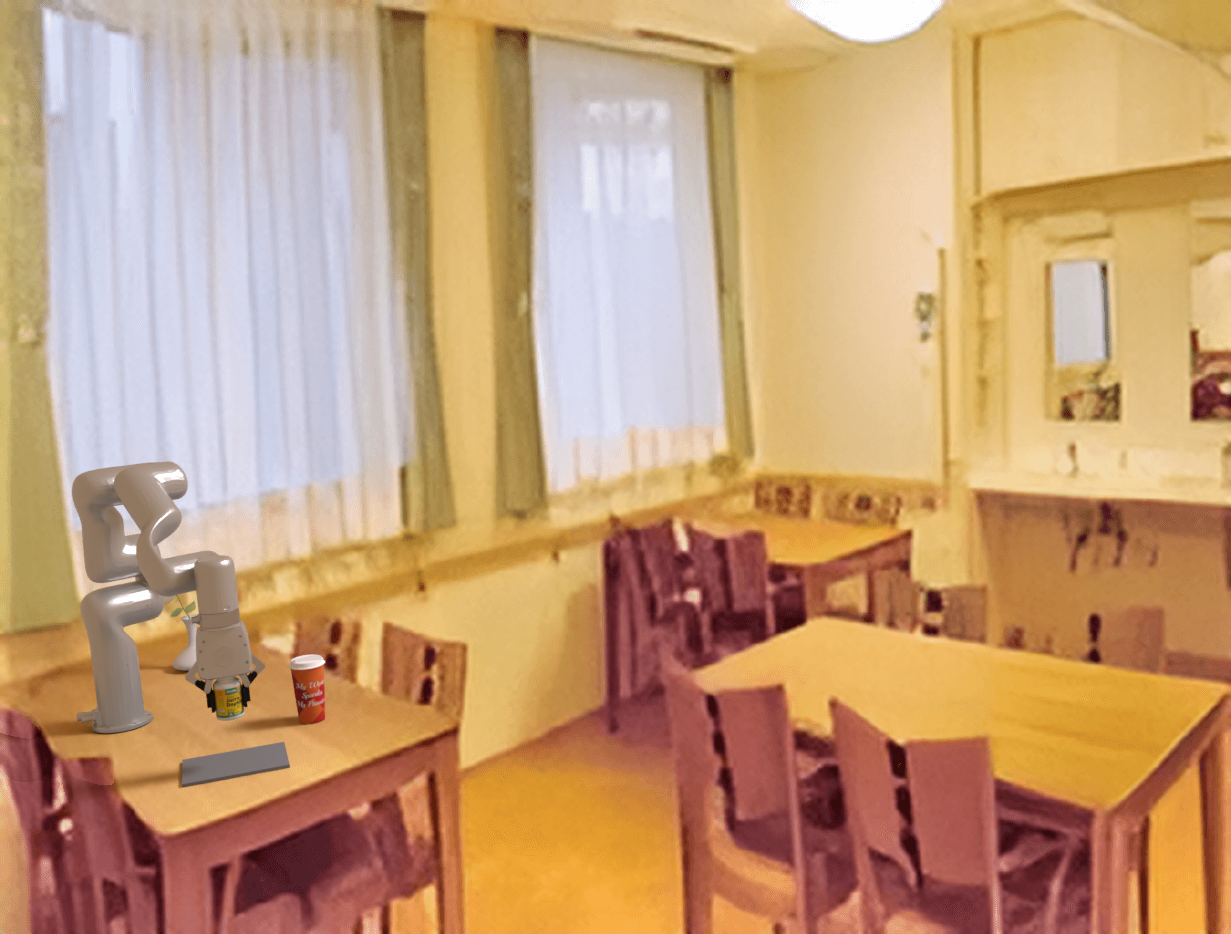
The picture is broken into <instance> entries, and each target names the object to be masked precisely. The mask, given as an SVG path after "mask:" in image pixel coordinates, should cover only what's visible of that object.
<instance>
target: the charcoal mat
mask: <svg viewBox="0 0 1231 934" xmlns="http://www.w3.org/2000/svg"><path fill="white" fill-rule="evenodd" d="M288 756H289V755H288V752H287V747H286V743H285V741H282V742H276V743H269V744H264V745H263V744H262V745H258V746H253V747H247V748H241V749H237V750H236V749H235V750H230V751H224V752H219V753H212V754H207V755H203V756H202V755H201V756H196V757H195V756H194V757H190V758H185V759H182V761H181V764H182V765H181V788H188V787H192V786H196V785H204V784H208V783H212V782H213V783H214V782H219V781H225V780H228V779H229V780H230V779H234V778H240V777H245V776H252V775H256V774H261V773H268V772H273V771H279V770H283V769H288V768H291V766H290V760H289V757H288Z"/></svg>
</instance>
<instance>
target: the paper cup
mask: <svg viewBox="0 0 1231 934" xmlns="http://www.w3.org/2000/svg"><path fill="white" fill-rule="evenodd" d="M324 664H326V660H324V657H322V655H320V654H313V653H312V654H303V655H299V656H296V657H294V658H291V659H290V663H289V666H288V668H289V670H290V673H291V680H292V685H293V692H294V698H295V704H296V710H297V715H298V721H299V724H303V725H313V724H318V723H320V722H322V721H325V720H326V694H325V693H326V691H325V673H324V672H325V671H324V670H325V669H324Z"/></svg>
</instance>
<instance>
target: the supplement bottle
mask: <svg viewBox="0 0 1231 934" xmlns="http://www.w3.org/2000/svg"><path fill="white" fill-rule="evenodd" d="M241 685H242V680H241V678H240V677H239V678H238V676H233V677H227V678H220V679H216V680H214V682H213V683H212V690H213V692H214V701H215V710H216V712H215V715H216V716H215V717H216V719H217V720H218V721H222V722H228V721H234V720H237V719H240V718H242V717H243V716H244V715H245V707H244V705H243V696H242V686H241Z"/></svg>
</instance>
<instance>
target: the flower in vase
mask: <svg viewBox="0 0 1231 934" xmlns="http://www.w3.org/2000/svg"><path fill="white" fill-rule="evenodd" d="M176 598H177V599H178V601H179V603H180V605H181V607H177V608H175V609H174V610H173V611H172V613H171V615H170V617H171V618H173V617H174V618H175V617H178V616H180V615H181V613H182V612H183V611H184V613H185V614H186V615H183V616H181V617H179V618H180V620H181V621H182V623H183V624H184V625H185V629H186V631H187V632H186V633H187V641H188V642H187V645H186V647H184V649H183V650H182V651H181V652H180V653H179V654H178V655H177V656H176V657H175V659H174V660H173V662H172V667H173V669H175V670H179V671H187V672H189V670H190V669H191V668H192V666H193V665H194V664H195V662H196V661H197V660H196V631H197V627H198V624H196V623H194V624H192V620H191V617H195V616H197V614H198V613H197V614H195V613H194V614H190V613H192V612H194V611H195V610H196V609H197V606H196V602H195V600H193V601H191V603H189V604H188V605H187V606H185V607H184V606H183V605H184V604H183V603H182V601H181V598H180V596H179V595H174V596H168V597H166V596H164V605H167V604H170V603H171V602H172V601H174V599H176Z"/></svg>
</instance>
